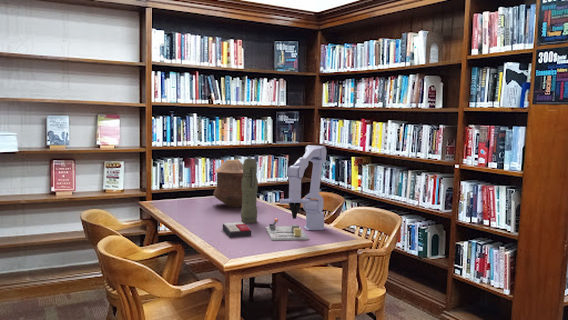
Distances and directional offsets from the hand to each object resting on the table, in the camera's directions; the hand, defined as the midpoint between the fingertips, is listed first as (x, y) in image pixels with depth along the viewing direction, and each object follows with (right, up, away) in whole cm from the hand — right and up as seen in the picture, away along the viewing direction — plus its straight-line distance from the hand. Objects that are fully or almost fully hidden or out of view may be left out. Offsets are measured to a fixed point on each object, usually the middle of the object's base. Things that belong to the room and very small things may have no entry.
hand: (294, 218), depth 223 cm
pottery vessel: (-38, -2, +75) cm, 84 cm away
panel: (-4, -9, +8) cm, 13 cm away
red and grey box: (-29, -9, +8) cm, 31 cm away
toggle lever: (-11, -6, +14) cm, 19 cm away
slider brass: (+1, -8, +1) cm, 8 cm away
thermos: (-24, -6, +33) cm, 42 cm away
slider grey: (0, -8, +8) cm, 11 cm away
